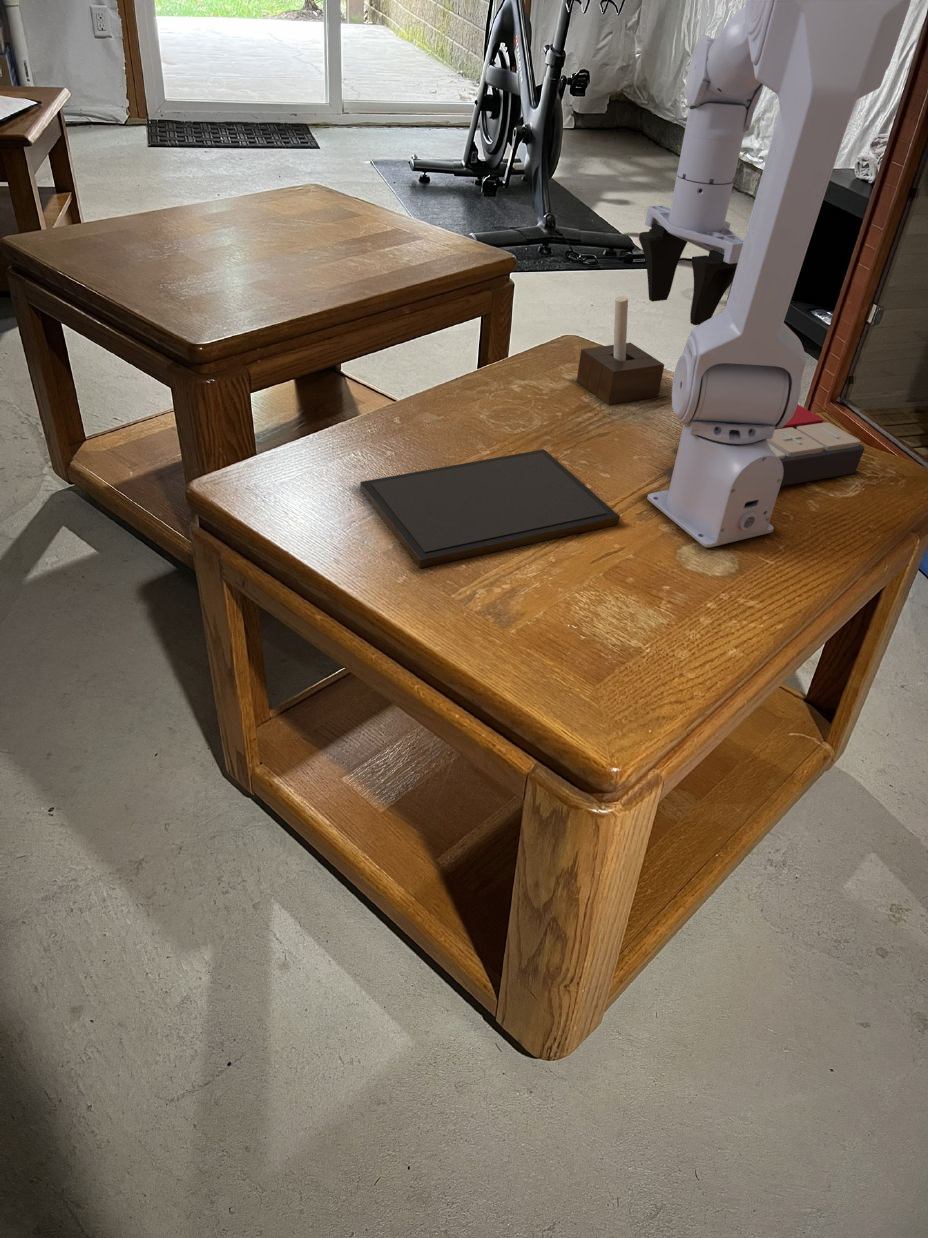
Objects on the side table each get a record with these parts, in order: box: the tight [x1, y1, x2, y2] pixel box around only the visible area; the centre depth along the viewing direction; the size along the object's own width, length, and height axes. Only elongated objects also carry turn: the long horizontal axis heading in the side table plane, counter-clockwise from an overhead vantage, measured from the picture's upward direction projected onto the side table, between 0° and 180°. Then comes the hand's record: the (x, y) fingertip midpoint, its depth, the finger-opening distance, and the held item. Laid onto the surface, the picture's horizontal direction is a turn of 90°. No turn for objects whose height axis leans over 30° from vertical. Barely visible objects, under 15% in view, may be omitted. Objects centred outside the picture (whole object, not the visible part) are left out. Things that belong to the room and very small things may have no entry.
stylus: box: [613, 295, 629, 361], centre depth 107 cm, size 1×1×11 cm
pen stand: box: [576, 342, 665, 406], centre depth 109 cm, size 7×7×4 cm
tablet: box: [359, 448, 621, 569], centre depth 87 cm, size 14×20×1 cm
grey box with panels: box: [767, 404, 865, 489], centre depth 97 cm, size 11×4×15 cm
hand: (678, 311), depth 103 cm, fingers open, 7 cm apart
